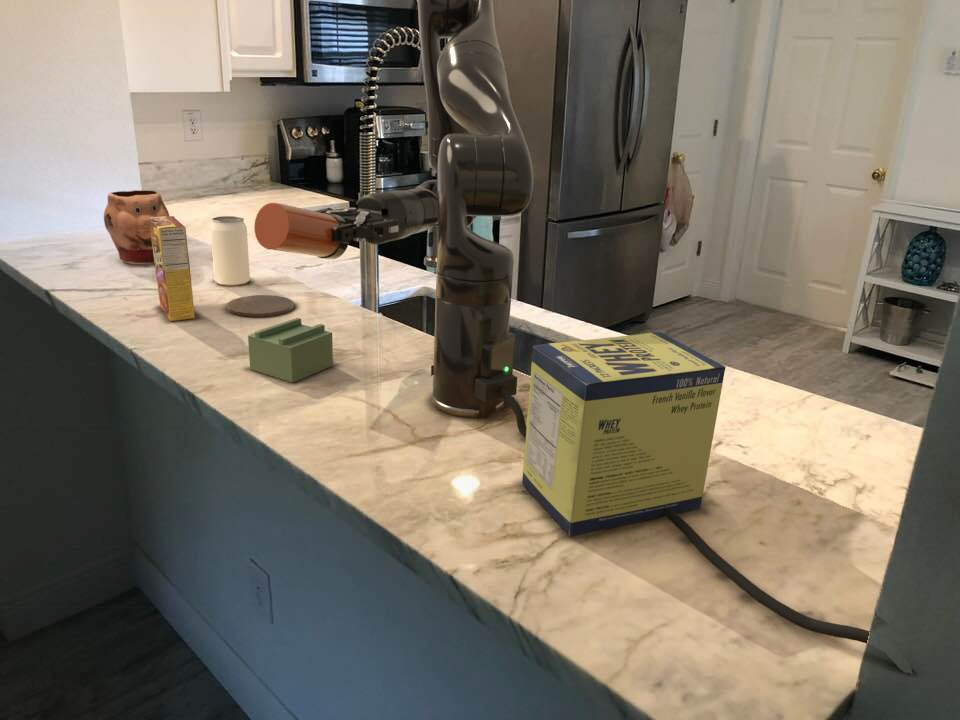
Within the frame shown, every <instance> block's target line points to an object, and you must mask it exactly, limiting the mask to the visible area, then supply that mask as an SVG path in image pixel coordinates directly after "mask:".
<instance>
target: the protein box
mask: <svg viewBox="0 0 960 720" xmlns="http://www.w3.org/2000/svg"><path fill="white" fill-rule="evenodd" d="M531 356H532V357H531V369H530V379H529V393H528V401H527V402H528V403H527V404H528V405H527V416H526V427H527V429H526V438H525V441H524V443H525V445H524V455H523V467H522V479H521V484H522V486H523V487H524V488H525V489H526V490H527V491H528V492H529V493H530V495H531V496H532V497H533V498H534V499H535V500H536V501H537V502H538V504H539V505H540V506H541V507H542V508H543V509H544V510H545V511H546V512H547V514H548V515H549V516H551V518H552V519H553V520H554V522H556V523H557V524H558V525H559V527H561V529H562V530H563V531H564V532H565V533H566V534H567V536H568V537H572V536H577V535H582V534H587V533H591V532H596V531H603V530H606V529H611V528H616V527H621V526H624V525H629V524H634V523H640V522H644V521H650V520H655V519H660V518H664V517H666V516H665V515H664V510H665V509H666V508H668V507H671V508H672V509H673V510H674V511H675V512H676V513H677V514H678V515H679V514H683V513H688V512H692V511H698V510H700V509H701V508H702V501H703V496H704V492H705V491H704V490H705V484H706V479H707V473H708V467H709V461H710V456H711V451H712V445H713V439H714V433H715V430H716V429H715V428H716V424H717V417H718V413H719V406H720V400H721V394H722V390H723V383H724V377H725V373H726V372H725V371H726V366H725V365H723V364H722V363H719V362H717V361H716V360H715V359H712V358H710V357H708V356H706V355H705V354H702V353H701V352H699V351H697V350H695V349H693V348H691V347H689V346H688V345H685V344H684V343H682V342H680V341H678V340H676V339H674V338H672V337H670V336H668V335H667V334H665V333H663V332H662V331H655V332H654V331H653V332H646V333H639V334H630V335H621V336H612V337H601V338H594V339H593V338H592V339H584V340H582V339H581V340H571V341H562V342H551V343H543V344H537V345H533V346H532V355H531Z"/></svg>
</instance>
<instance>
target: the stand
mask: <svg viewBox="0 0 960 720" xmlns="http://www.w3.org/2000/svg"><path fill="white" fill-rule="evenodd" d="M325 327H326V326H325V324H323V323H319V324H316V325H314V326H310V325H306V324H302V318H299V317H295V318H293V319H292V318H291V319H290V320H289V319H288V320H287V321H284V322H283V321H282V322H280V323H277V324H274V325H270V326H268V327H265V328H261V329H258V330H257V331H256V330H255V331H254V333H249V334H248V335H247V341H248V358H249V369H250V370H251V371H254V372H258V373H261V374H264V375H267V376H270V377H274V378H276V379H279V380H282V381H285V382H289V383H296V382H298V381H300V380H303V379H305V378H307V377H310V376H312V375H314V374H317V373H319V372H322V371H324V370H326V369H329V368H331V367H333V366H334V354H333V350H334V349H333V348H334V347H333V346H334V345H333V332H331V331H328V330H325V329H326V328H325Z"/></svg>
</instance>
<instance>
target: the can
mask: <svg viewBox="0 0 960 720" xmlns="http://www.w3.org/2000/svg"><path fill="white" fill-rule="evenodd" d="M211 220H212V222H211V224H210V243H211V254H212V267H213V269H212V270H213V279H214V282H215V284H217V285H220V286H226V287H229V286H230V287H235V286H243V285H246V284H247V283H249V281H250V279H251V276H250V262H249V261H250V258H249V257H250V256H249V241H248V239H249V238H248V227H247V225H246V223H245V221H244V220H245V218H244V217H241V216H234V215H222V216H215V217H213V218H211Z"/></svg>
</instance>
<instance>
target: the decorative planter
mask: <svg viewBox="0 0 960 720" xmlns="http://www.w3.org/2000/svg"><path fill="white" fill-rule="evenodd" d="M164 216H170V213H169V210H168V208H167V207H166V204H165V203H164V200H163V199H162V196H161V193H160V192H158V191H155V190H149V189H141V190H140V189H138V190H137V189H135V190H119V191H113V192H109V193H108V194H107V204H106V206H105V208H104V213H103V222H104V226H105V229H106V231H107V232H108V234H109V237H110V238H111V241H112V242H113V244H114V246H115V248H116V250H117V252H118V256H119V259H120V261H122V262H124V263H126V264H131V265H148V264H155V262H154V255H153V247H152V239H151V232H150V224H149V218H151V217H164Z"/></svg>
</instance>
